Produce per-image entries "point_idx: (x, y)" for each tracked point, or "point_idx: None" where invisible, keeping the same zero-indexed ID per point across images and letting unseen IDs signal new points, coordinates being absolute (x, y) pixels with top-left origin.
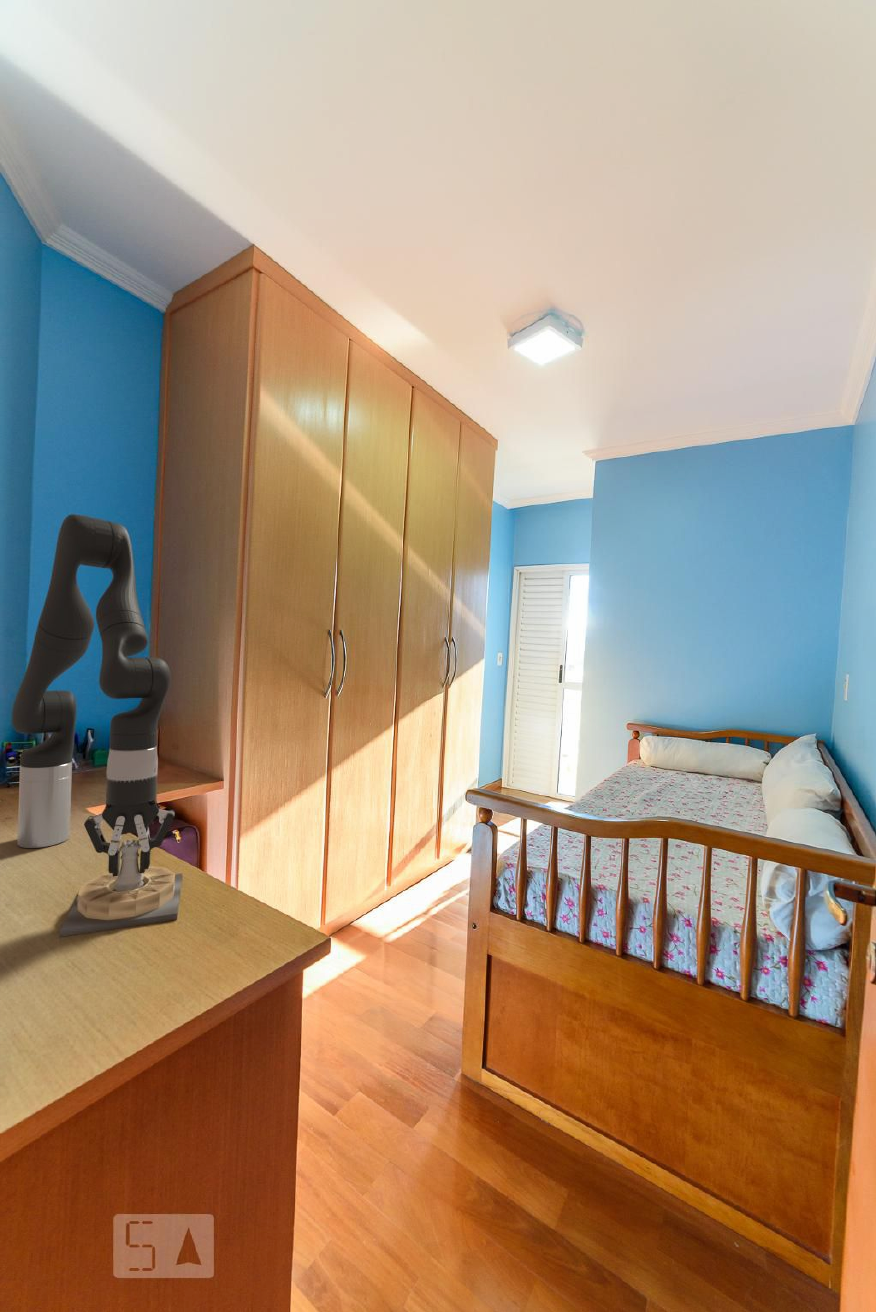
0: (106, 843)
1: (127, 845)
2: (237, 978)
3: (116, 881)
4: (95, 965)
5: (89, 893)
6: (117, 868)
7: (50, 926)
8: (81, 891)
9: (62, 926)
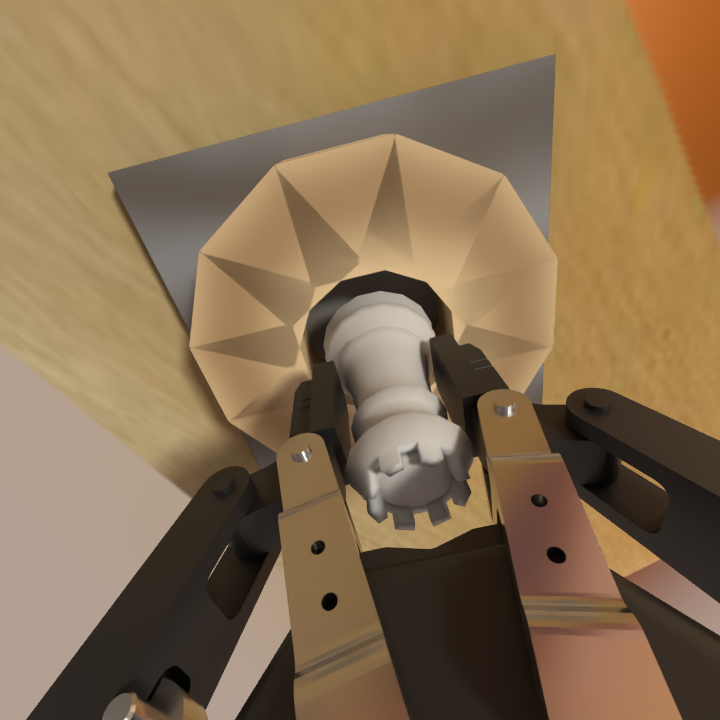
0: (266, 525)
1: (412, 525)
2: (630, 558)
3: (344, 392)
4: (397, 536)
5: (266, 416)
6: (349, 429)
7: (204, 420)
8: (226, 403)
9: (258, 462)
